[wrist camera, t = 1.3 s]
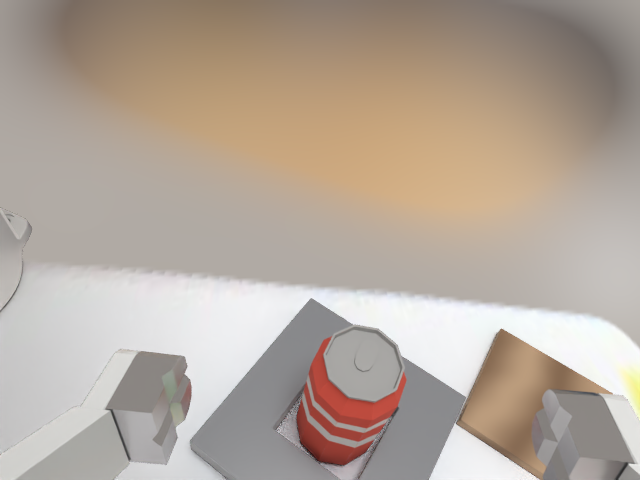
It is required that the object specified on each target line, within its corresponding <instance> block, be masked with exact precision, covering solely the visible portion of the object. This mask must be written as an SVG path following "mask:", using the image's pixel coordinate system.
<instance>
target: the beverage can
mask: <svg viewBox="0 0 640 480" xmlns="http://www.w3.org/2000/svg"><path fill="white" fill-rule="evenodd" d="M404 369H405V366H404V363H403V360H402V357H401V354H400V351H399V348H398V345H397V344H396V343H395V342H393V341H392V340H391V339H390V338H389V337H388V336H386V335H385V334H384V333H383V332H382V331H380V330H379V329H377V328H371V327H366V326H360V325H352V326H350V327H348V328H345V329H343V330H341V331H338V332H336V333H334V334H333V336H331V337H329V338H327V339H324V340H323V342H322V344H321V346H320V348H319V350H318V352H317V354H316V355H315V357H314V359H313V361H312V363H311V366H310V370H309V374H308V377H307V381H306V384H305V388H304V392H303V395H302V399H301V402H300V406H299V409H298V413H297V417H296V418H297V424H298V430H299V436H300V442H301V443H302V444H303V445H304V446H305V447H306V448H307V449H308V450H309V451H310V452H311V453H312V454H313V456H314V457H315V458H316V459H317V460H318V461H322V462H328V463H334V464H340V465H345V464H347V463H349V462H350V461H352V460H354V459H355V458H357V457H359V456H361V455H362V454H364V453H365V452H366V451H367V449H368V448H369V447H370V445H371V444H372V442H373V441H374V439H375V438H376V437H377V435H378V434H379V432H380V431H381V429H382V428H383V427H384V425H385V424H386V422H387V421H388V419H389V418H390V417H391V415H392V414H393V412H394V411H395V409H396V408H397V407H398V404H399V401H400V398H401V395H402V392H403V389H404V387H405V384H406V381H407V379H406V376H405V373H404Z"/></svg>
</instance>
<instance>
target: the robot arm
mask: <svg viewBox="0 0 640 480" xmlns="http://www.w3.org/2000/svg"><path fill="white" fill-rule="evenodd" d="M31 231H32V227H31V225H30V224H29V222H28V221H27V220H26V219H25V218H23V217H21V216H19V215H17V214H14V213H12V212H10V211H8V210H5V209H3V208H1V207H0V310H1V309H2V308H3V307H4V306H5V304H6V303H7V302H8V301H9V299H10V298H11V296H12V295H13V293H14V292H15V290H16V288H17V286H18V284H19V281H20V278H21V274H22V251H23V247H24V246H25V244H26V242H27V240H28V238H29V237H30V234H31ZM186 368H187V363H186V360H185V357H184V356H178V355H169V354H161V353H153V352H144V351H134V350H125V349H120V350H118V351H117V352H116V353H115V354H114V355H113V356H112V358H111V359H110V361H109V362H108V364H107V366H106V367H105V369H104V370H103V372H102V373H101V375H100V377H99V378H98V380H97V381H96V383H95V384H94V386H93V388H92V389H91V391H90V392H89V394H88V395H87V397H86V399H85V400H84V402H83V403H82V405H81V406H80V407H73V408H71V409H69V410H68V411H66V412H65V413H63V414H62V415H60V416H59V417H57V418H56V419H54V420H53V421H51V422H50V423H48V424H46V425H45V426H43V427H42V428H40V429H39V430H37V431H36V432H34V433H33V434H31V435H30V436H28V437H27V438H25V439H23V440H22V441H20V442H19V443H17V444H16V445H14V446H13V447H11V448H10V449H8V450H7V451H5V452H4V453H2V454H1V455H0V480H113V479H114V478H115V477H116V476H118V475H119V474H120V473H121V472H122V471H123V470H124V469H125V468H126V467H127V466H128V465H129V464H130V463H129V462H141V463H153V464H165V465H167V462H168V460H169V458H170V455H171V453H172V450H173V448H174V445H175V443H176V440H177V438H178V437H177V433H176V429H175V427H177V426H178V425H179V424H180V423H182V422H183V421H184V420H185V418H186V415H187V412H188V410H189V405H190V400H191V382H190V379H189V378H188V377H187V376H186V375H185V374H184V373H185V371H186ZM542 403H543V405H544V408H543V409H541V410H540V411H538V412H536V414H535V417H534V419H533V422H532V441H533V447H534V450H535V454H536V457H537V458H538V459H539V460H540V461H541V462H542V463H543V464H544V465H545V466H546V467H547V468H546V470H545V472H544V474H543V476H542V477H543V480H640V421H639V419H638V417H637V416H636V414H635V412H634V410H633V408H632V406H631V405H630V403H629V401H628V399H626V398H625V397H624V396H623V395H613V394H602V393H594V392H582V391H570V390H557V389H548V390H547V391H546V392H545V393H544V395H543V398H542Z"/></svg>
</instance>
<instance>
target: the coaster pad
mask: <svg viewBox="0 0 640 480" xmlns="http://www.w3.org/2000/svg"><path fill="white" fill-rule="evenodd" d="M548 389H557V390H570V391H582V392H594V393H602V394H613V393H611V392H609V391H608V390H606V389H604V388H602V387H601V386H599V385H597V384H596V383H594V382H592V381H590V380H589V379H587V378H585V377H584V376H582V375H580V374H578V373H577V372H575V371H573V370H572V369H570V368H568V367H566V366H565V365H563V364H561V363H560V362H558V361H556V360H554V359H553V358H551V357H549V356H548V355H546V354H544V353H542V352H541V351H539V350H537V349H536V348H534V347H532V346H530V345H529V344H527V343H525V342H524V341H522V340H520V339H519V338H517V337H515V336H513V335H512V334H510V333H508V332H507V331H505V330H503V329H500V331H499V332H498V333H497V335H496V337H495V339H494V341H493V344H492V346H491V348H490V350H489V353H488V355H487V357H486V359H485V361H484V364H483V366H482V368H481V370H480V372H479V375H478V377H477V379H476V381H475V384H474V386H473V388H472V390H471V392H470V395H469V397H468V399H467V401H466V404H465V406H464V408H463V410H462V412H461V415H460V417H459V419H458V421H457V423H456V424H458V425H459V426H461V427H462V428H464V429H465V430H467V431H468V432H470V433H471V434H473V435H474V436H476V437H477V438H479V439H480V440H482V441H483V442H485V443H486V444H488V445H489V446H491V447H492V448H494V449H495V450H497V451H498V452H500V453H501V454H503V455H504V456H506V457H507V458H509V459H510V460H512V461H513V462H515V463H517V464H518V465H520V466H521V467H523V468H524V469H526V470H527V471H529V472H530V473H532V474H533V475H535V476H536V477H538V478H539V479H541V480H543V477H542V476H543V474H544V472H545V470H546V468H547V467H546V466H545V465H544V464H543V463H542V462H541V461H540V460H539V459H538V458H537V457H536V454H535V450H534V447H533V441H532V422H533V419H534V417H535V414H536V412H538V411H540V410H541V409H543V408H544V405H543V403H542V398H543V395H544V393H545V392H546V391H547V390H548Z"/></svg>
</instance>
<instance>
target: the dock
mask: <svg viewBox="0 0 640 480" xmlns="http://www.w3.org/2000/svg"><path fill="white" fill-rule="evenodd" d="M352 325H353V324H351V323H349V322H348V321H346V320H345V319H343V318H342V317H340V316H339V315H337V314H335V313H334V312H332V311H331V310H329V309H328V308H326V307H324V306H323V305H321V304H320V303H318V302H317V301H315V300H314V299H312V298H311V299H310V300H309V301H308V302H307V303H306V305H305V306H304V307H303V308H302V309H301V311H300V312H299V313H298V314H297V315H296V316H295V318H294V319H293V320H292V321H291V322H290V324H289V325H288V326H287V327H286V328H285V329H284V331H283V332H282V333H281V334H280V335H279V336H278V338H277V339H276V340H275V341H274V342H273V344H272V345H271V346H270V347H269V348H268V349H267V351H266V352H265V353H264V354H263V355H262V357H261V358H260V359H259V360H258V361H257V362H256V364H255V365H254V366H253V367H252V368H251V369H250V371H249V372H248V373H247V374H246V375H245V377H244V378H243V379H242V380H241V381H240V382H239V384H238V385H237V386H236V387H235V388H234V390H233V391H232V392H231V393H230V394H229V395H228V397H227V398H226V399H225V400H224V401H223V402H222V404H221V405H220V406H219V407H218V408H217V410H216V411H215V412H214V413H213V414H212V415H211V417H210V418H209V419H208V420H207V421H206V423H205V424H204V425H203V426H202V427H201V428H200V430H199V431H198V432H197V433H196V434H195V435H194V437H193V438H192V439H191V440H190V444H191V449H192V450H193V451H194V452H195V453H197V454H198V455H199V456H200V457H201V458H203V459H204V460H205V461H206V462H208V463H209V464H210V465H211V466H212V467H214V468H215V469H216V470H217V471H219V472H220V473H221V474H222V475H223V476H225V477H226V478H227V479H228V480H340V479H339V478H338V477H336V476H335V475H334V474H332V473H331V472H330V471H328V470H327V469H326V468H324V467H323V466H322V465H320V464H319V463H318V462H316V461H315V460H314V459H312V458H311V457H310V456H308V455H307V454H306V453H304V452H303V451H302V450H300V449H299V448H298V447H296V446H295V445H294V444H293V443H291V442H290V441H289V440H287V439H286V438H285V437H283V436H282V435H281V434H279V433H278V432H277V431H275V430H276V428H277V427H278V426H279V424H280V423H281V422H282V420H283V419H284V418H285V416H286V415H287V413H288V412H289V411H290V409H291V408H292V407H293V405H294V404H295V402H296V401H297V400H298V398H299V397H300V396H301V394H302V393H303V391H304V388H305V384H306V381H307V377H308V374H309V370H310V366H311V363H312V361H313V359H314V357H315V355H316V354H317V352H318V350H319V348H320V346H321V344H322V342H323V340H324V339H327V338H329V337H331V336H333V334H334V333H336V332H338V331H341V330H343V329H345V328H348V327H350V326H352ZM401 357H402V356H401ZM402 360H403V363H404V366H405V369H404V373H405V376H406V379H407V381H406V384H405V387H404V389H403V392H402V395H401V398H400V401H399V404H398V407H397V408H396V409H395V411H394V412H393V414H392V415H391V416H393V418H392V420H391V421H390V423H389V425H388V427H387V429H386V430H385V432H384V434H383V436H382V438H381V439H380V441H379V443H378V445H377V447H376V448H375V450H374V452H373V454H372V455H371V457H370V459H369V461H368V463H367V464H366V466H365V468H364V470H363V472H362V473H361V475H360V477H359V479H358V480H429V478H430V476H431V473H432V471H433V469H434V467H435V465H436V462H437V460H438V458H439V456H440V454H441V451H442V449H443V447H444V445H445V443H446V440H447V438H448V436H449V434H450V432H451V429H452V427H453V425H454V423H455V421H456V418H457V416H458V414H459V412H460V410H461V407H462V405H463V403H464V401H465V399H466V397H465V396H463V395H462V394H460V393H458V392H457V391H455V390H454V389H452V388H451V387H449V386H448V385H446V384H444V383H443V382H441V381H440V380H438V379H437V378H435V377H434V376H432V375H430V374H429V373H427V372H426V371H424V370H423V369H421V368H420V367H418V366H416V365H415V364H413V363H412V362H410V361H409V360H407V359H406V358H404V357H402Z"/></svg>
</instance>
